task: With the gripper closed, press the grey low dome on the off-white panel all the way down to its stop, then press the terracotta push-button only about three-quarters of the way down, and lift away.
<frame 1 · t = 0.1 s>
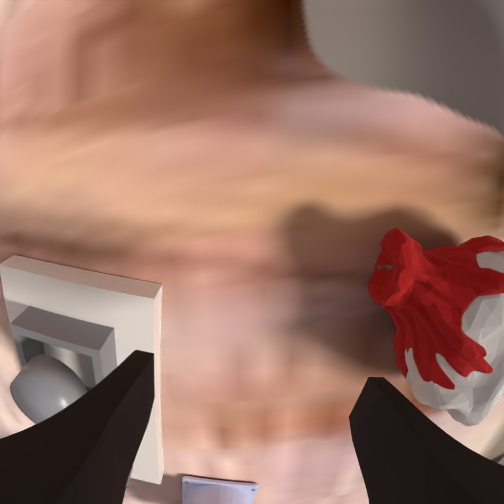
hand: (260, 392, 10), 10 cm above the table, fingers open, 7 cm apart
white red irregular piece: (429, 290, 20), on the table
button panel: (93, 388, 23), on the table
grey low dome: (48, 395, 15), point 6 cm above the table, slide at 0.0 cm
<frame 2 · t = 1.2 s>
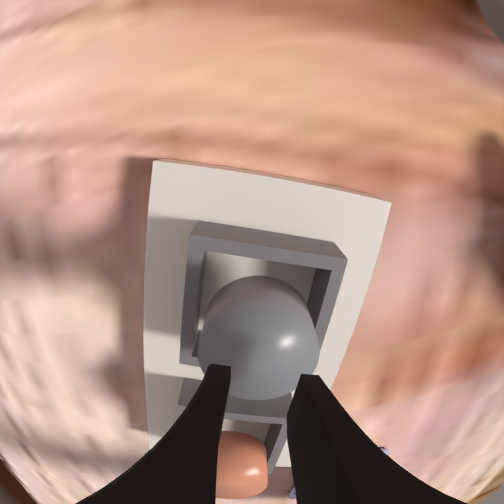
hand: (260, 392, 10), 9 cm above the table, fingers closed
button panel: (242, 347, 20), on the table
grey low dome: (258, 339, 13), point 6 cm above the table, slide at 0.0 cm
terracotta button: (228, 467, 16), point 6 cm above the table, slide at 0.0 cm
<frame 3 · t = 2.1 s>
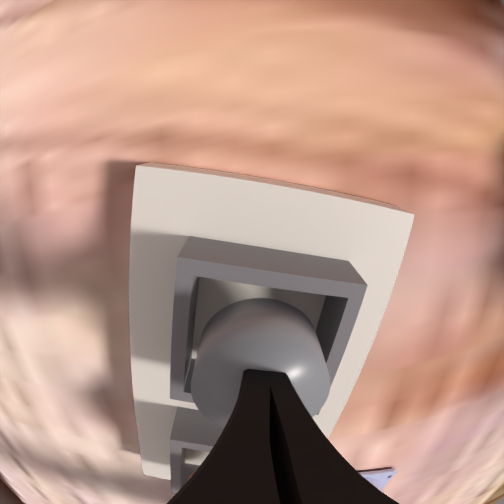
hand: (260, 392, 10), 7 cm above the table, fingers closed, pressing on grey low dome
button panel: (241, 373, 18), on the table
grey low dome: (259, 370, 11), point 6 cm above the table, slide at 0.7 cm, touching gripper
terracotta button: (227, 502, 14), point 6 cm above the table, slide at 0.0 cm
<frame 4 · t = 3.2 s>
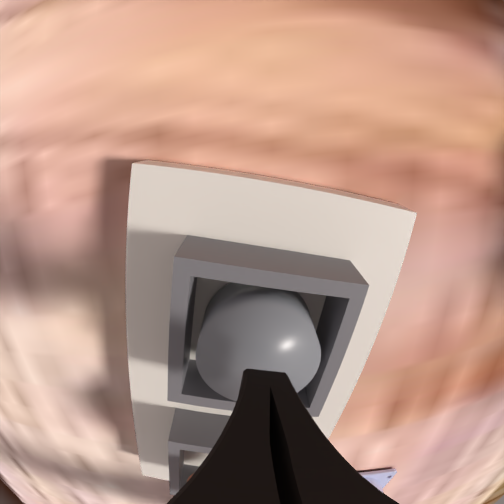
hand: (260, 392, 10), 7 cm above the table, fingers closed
button panel: (240, 373, 18), on the table
grey low dome: (257, 342, 12), point 4 cm above the table, slide at 2.5 cm
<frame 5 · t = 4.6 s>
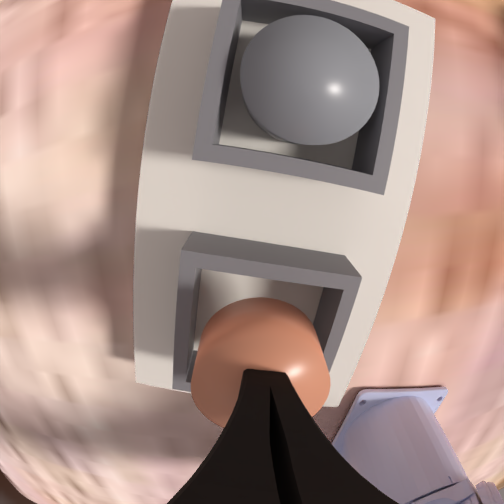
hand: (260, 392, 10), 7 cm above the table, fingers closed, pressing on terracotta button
button panel: (274, 199, 15), on the table
grey low dome: (306, 83, 10), point 4 cm above the table, slide at 2.5 cm
terracotta button: (259, 369, 11), point 6 cm above the table, slide at 0.0 cm, touching gripper
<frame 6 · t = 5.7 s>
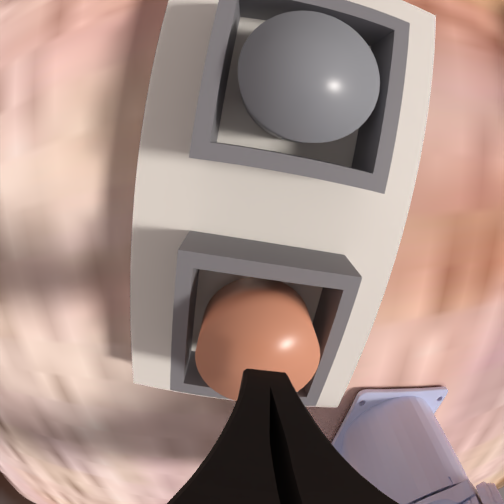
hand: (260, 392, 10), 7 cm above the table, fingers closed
button panel: (272, 197, 15), on the table
grey low dome: (305, 79, 10), point 4 cm above the table, slide at 2.5 cm
terracotta button: (257, 342, 13), point 4 cm above the table, slide at 1.8 cm
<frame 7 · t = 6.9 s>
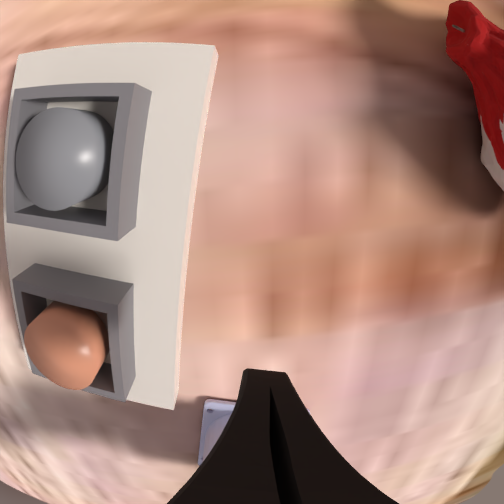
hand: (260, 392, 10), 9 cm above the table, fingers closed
white red irregular piece: (493, 111, 15), on the table
button panel: (94, 235, 18), on the table
grey low dome: (65, 157, 13), point 4 cm above the table, slide at 2.5 cm
terracotta button: (66, 344, 15), point 4 cm above the table, slide at 1.8 cm
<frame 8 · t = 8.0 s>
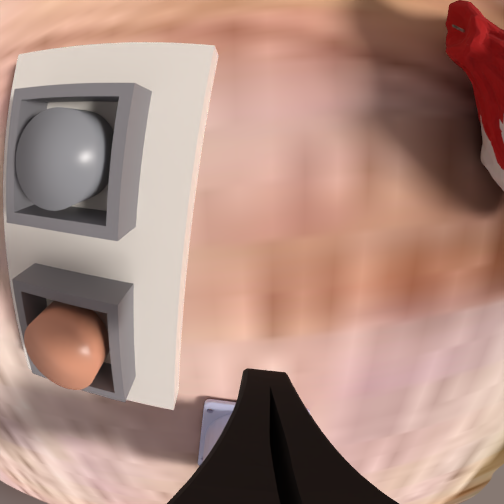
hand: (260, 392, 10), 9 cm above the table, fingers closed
white red irregular piece: (493, 111, 15), on the table
button panel: (94, 235, 18), on the table
grey low dome: (65, 157, 13), point 4 cm above the table, slide at 2.5 cm
terracotta button: (66, 344, 15), point 4 cm above the table, slide at 1.8 cm
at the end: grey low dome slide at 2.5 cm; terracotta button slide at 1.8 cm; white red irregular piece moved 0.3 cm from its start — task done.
